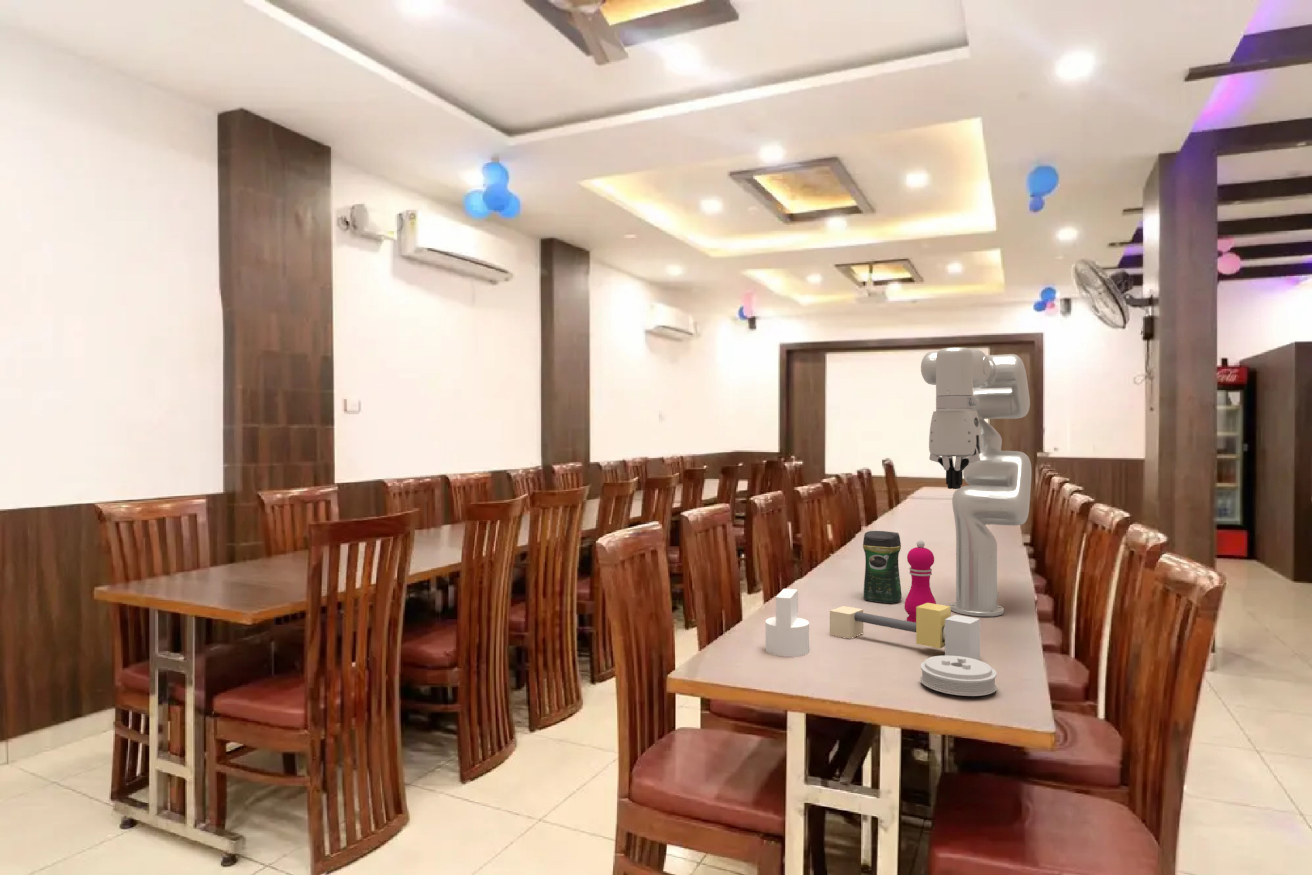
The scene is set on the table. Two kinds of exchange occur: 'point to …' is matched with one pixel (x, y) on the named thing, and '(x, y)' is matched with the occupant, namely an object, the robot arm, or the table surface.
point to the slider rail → (912, 629)
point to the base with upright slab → (787, 627)
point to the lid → (958, 675)
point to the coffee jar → (882, 566)
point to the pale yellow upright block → (931, 624)
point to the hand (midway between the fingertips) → (954, 488)
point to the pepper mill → (919, 579)
